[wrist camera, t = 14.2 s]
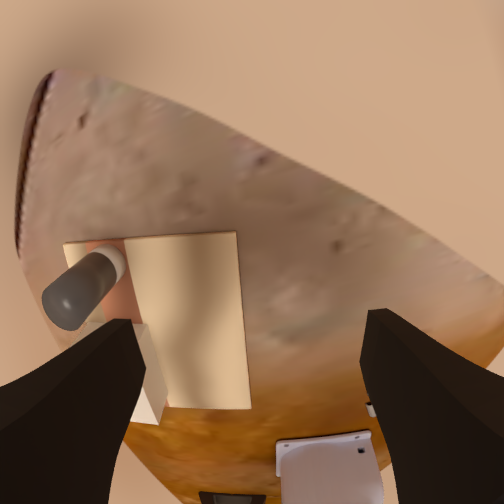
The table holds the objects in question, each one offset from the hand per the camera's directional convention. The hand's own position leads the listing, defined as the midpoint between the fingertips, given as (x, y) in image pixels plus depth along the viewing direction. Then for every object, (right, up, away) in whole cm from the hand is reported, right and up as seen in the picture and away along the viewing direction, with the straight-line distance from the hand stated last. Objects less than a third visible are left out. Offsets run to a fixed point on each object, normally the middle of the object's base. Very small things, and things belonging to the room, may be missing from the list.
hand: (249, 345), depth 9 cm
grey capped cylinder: (-9, +2, +10) cm, 13 cm away
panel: (-6, -3, +12) cm, 14 cm away
